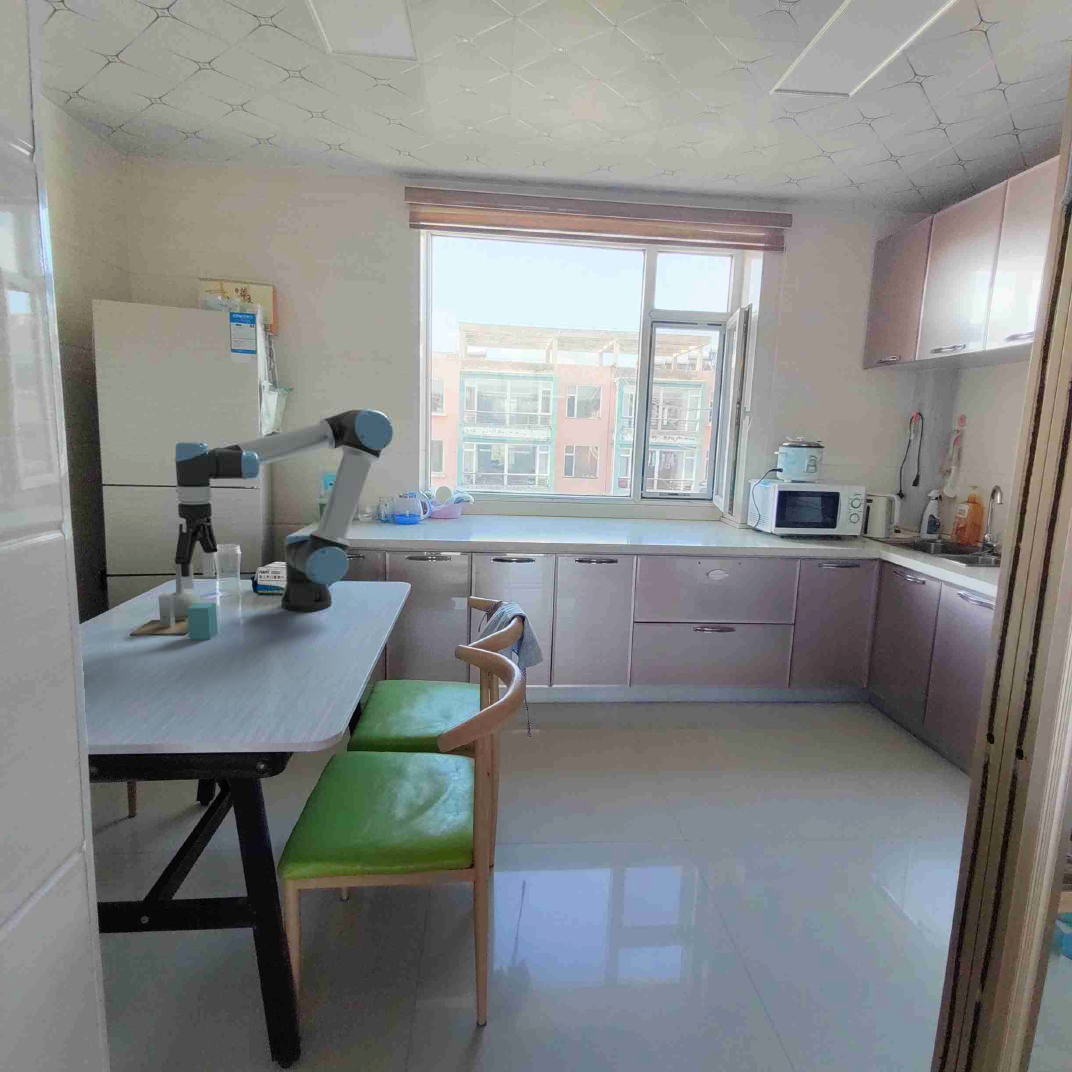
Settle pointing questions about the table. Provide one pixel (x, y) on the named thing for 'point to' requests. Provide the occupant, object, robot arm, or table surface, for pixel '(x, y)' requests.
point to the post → (166, 610)
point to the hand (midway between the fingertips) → (198, 582)
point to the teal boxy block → (202, 621)
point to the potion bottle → (181, 597)
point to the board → (161, 629)
